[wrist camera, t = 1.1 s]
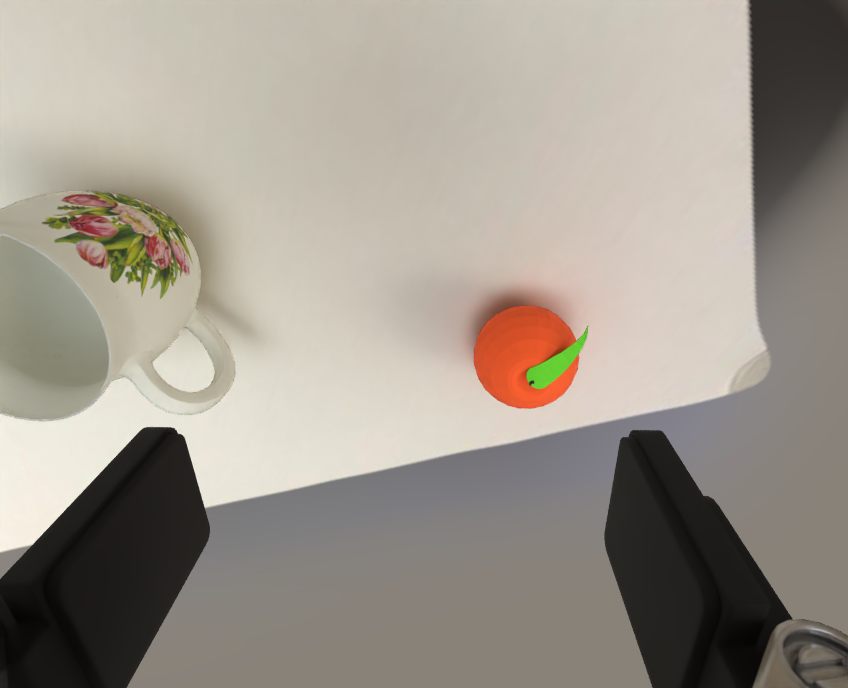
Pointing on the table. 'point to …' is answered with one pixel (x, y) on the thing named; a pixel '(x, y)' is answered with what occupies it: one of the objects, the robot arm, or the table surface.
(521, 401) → the clementine
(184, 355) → the table surface
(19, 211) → the pitcher
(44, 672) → the robot arm
